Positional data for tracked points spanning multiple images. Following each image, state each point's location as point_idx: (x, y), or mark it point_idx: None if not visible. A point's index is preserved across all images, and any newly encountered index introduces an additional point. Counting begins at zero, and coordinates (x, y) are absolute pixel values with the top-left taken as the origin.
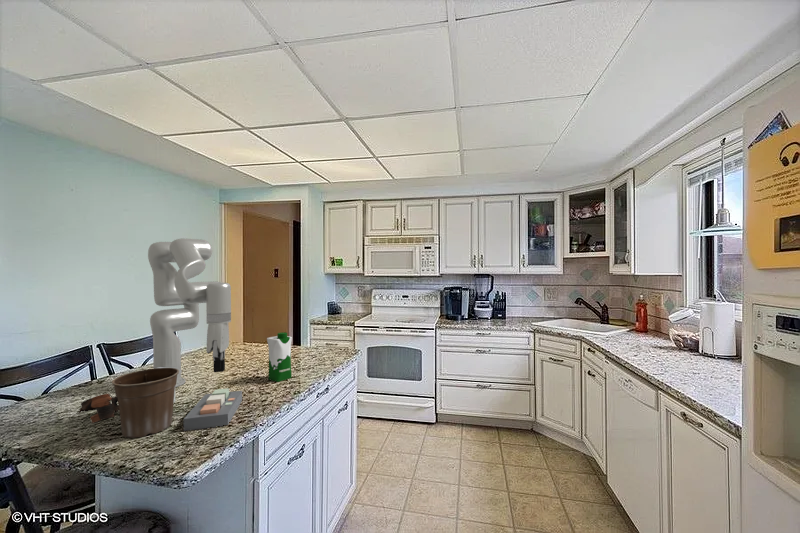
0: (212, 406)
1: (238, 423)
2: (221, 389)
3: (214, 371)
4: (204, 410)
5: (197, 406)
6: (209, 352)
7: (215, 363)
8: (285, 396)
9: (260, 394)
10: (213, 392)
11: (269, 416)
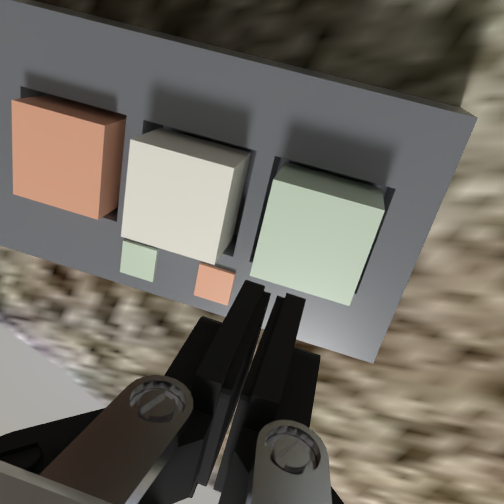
0: (59, 174)
1: (42, 263)
2: (353, 254)
3: (241, 289)
4: (13, 125)
5: (182, 68)
6: (5, 462)
7: (169, 367)
8: None
9: (412, 421)
10: (305, 193)
11: (74, 379)
